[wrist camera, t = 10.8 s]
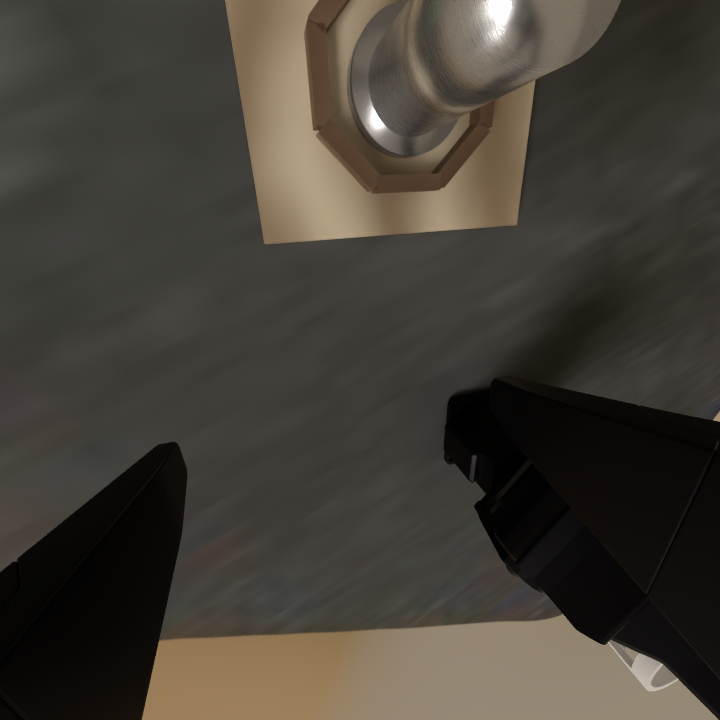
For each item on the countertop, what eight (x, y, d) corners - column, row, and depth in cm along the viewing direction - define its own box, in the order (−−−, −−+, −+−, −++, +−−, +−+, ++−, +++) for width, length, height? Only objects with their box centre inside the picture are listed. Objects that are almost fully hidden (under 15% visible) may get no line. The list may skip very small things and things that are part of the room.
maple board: (541, -74, 17) (574, -108, 15) (506, 224, 23) (527, 225, 21) (204, -131, 13) (195, -185, 11) (264, 243, 19) (264, 245, 17)
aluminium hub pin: (459, 17, 17) (694, -214, 8) (452, 157, 19) (625, 104, 10) (341, 7, 15) (463, -288, 6) (351, 160, 18) (447, 102, 9)
